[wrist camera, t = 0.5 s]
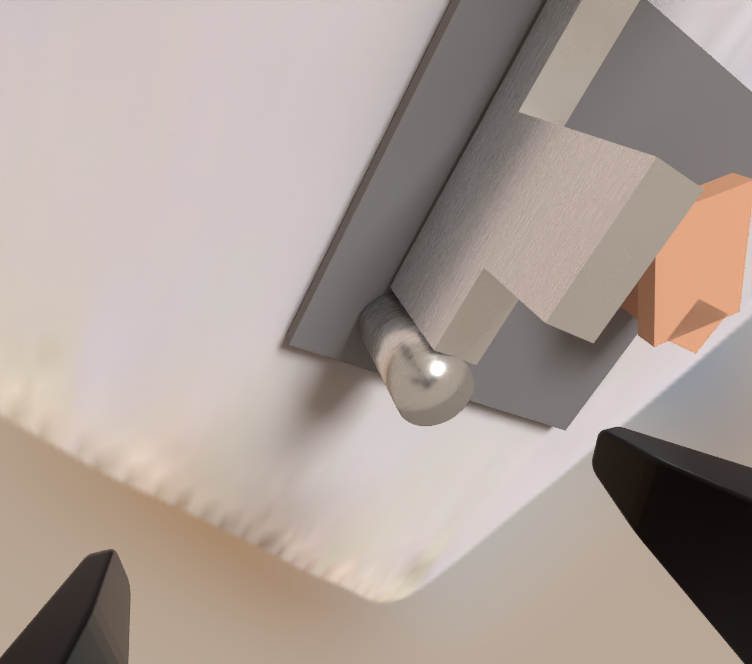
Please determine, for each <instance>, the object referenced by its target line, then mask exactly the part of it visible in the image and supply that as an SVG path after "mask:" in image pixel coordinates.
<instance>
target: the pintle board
mask: <svg viewBox="0 0 752 664" xmlns="http://www.w3.org/2000/svg"><path fill="white" fill-rule="evenodd" d="M546 2H547V0H451V2H450V4H449V6H448V8H447V10H446V12H445V14H444V16H443V18H442V20H441V22H440V24H439V26H438V28H437V30H436V32H435V34H434V36H433V38H432V40H431V42H430V44H429V46H428V49H427V51H426V53H425V55H424V57H423V59H422V61H421V63H420V65H419V67H418V69H417V71H416V73H415V75H414V77H413V79H412V81H411V83H410V85H409V87H408V89H407V91H406V93H405V95H404V97H403V99H402V101H401V103H400V105H399V107H398V109H397V111H396V113H395V116H394V118H393V120H392V122H391V124H390V126H389V128H388V130H387V132H386V134H385V136H384V138H383V140H382V142H381V144H380V146H379V148H378V150H377V152H376V154H375V156H374V158H373V160H372V162H371V164H370V166H369V168H368V170H367V172H366V174H365V176H364V178H363V180H362V183H361V185H360V187H359V189H358V191H357V193H356V195H355V197H354V199H353V201H352V203H351V205H350V207H349V209H348V211H347V213H346V215H345V217H344V219H343V221H342V223H341V225H340V227H339V229H338V231H337V233H336V235H335V237H334V239H333V241H332V243H331V245H330V247H329V249H328V252H327V254H326V256H325V258H324V260H323V262H322V264H321V266H320V268H319V270H318V272H317V274H316V276H315V278H314V280H313V282H312V284H311V286H310V288H309V290H308V292H307V294H306V296H305V298H304V300H303V302H302V304H301V306H300V308H299V310H298V312H297V314H296V316H295V319H294V321H293V323H292V325H291V327H290V329H289V331H288V333H287V335H286V336H287V340H288V344H289V345H290V346H294V347H297V348H300V349H303V350H307V351H310V352H313V353H316V354H320V355H323V356H326V357H329V358H333V359H336V360H339V361H342V362H345V363H349V364H352V365H355V366H358V367H362V368H365V369H368V370H371V371H375V372H378V373H379V371H378V369H377V367H376V365H375V363H374V361H373V359H372V357H371V355H370V353H369V351H368V349H367V347H366V345H365V343H364V341H363V339H362V337H361V334H360V329H359V328H360V320H361V317H362V314H363V312H364V311H365V309H366V308H367V307H368V305H369V304H370V303H371V302H373V301H374V300H375V299H377V298H378V297H380V296H382V295H385V294H388V293H394V292H393V291H392V289H391V288H390V286H391V284H392V283H393V281H394V279H395V277H396V275H397V273H398V272H399V270H400V268H401V266H402V264H403V262H404V261H405V259H406V257H407V255H408V253H409V252H410V250H411V248H412V246H413V244H414V242H415V241H416V239H417V237H418V235H419V233H420V231H421V230H422V228H423V226H424V224H425V222H426V221H427V219H428V217H429V215H430V213H431V211H432V210H433V208H434V206H435V204H436V202H437V200H438V199H439V197H440V195H441V193H442V191H443V190H444V188H445V186H446V184H447V182H448V180H449V179H450V177H451V175H452V173H453V171H454V169H455V168H456V166H457V164H458V162H459V160H460V159H461V157H462V155H463V153H464V151H465V149H466V148H467V146H468V144H469V142H470V140H471V138H472V137H473V135H474V133H475V131H476V129H477V128H478V126H479V124H480V122H481V120H482V118H483V117H484V115H485V113H486V111H487V109H488V107H489V106H490V104H491V102H492V100H493V98H494V97H495V95H496V93H497V91H498V89H499V87H500V86H501V84H502V82H503V80H504V78H505V76H506V75H507V73H508V71H509V69H510V67H511V66H512V64H513V62H514V60H515V58H516V56H517V55H518V53H519V51H520V49H521V47H522V45H523V44H524V42H525V40H526V38H527V36H528V35H529V33H530V31H531V29H532V27H533V25H534V24H535V22H536V20H537V18H538V16H539V14H540V13H541V11H542V9H543V7H544V5H545V4H546ZM564 127H567V128H570V129H573V130H576V131H579V132H582V133H585V134H588V135H591V136H594V137H597V138H600V139H604V140H607V141H610V142H613V143H616V144H619V145H622V146H625V147H628V148H631V149H634V150H637V151H640V152H643V153H647V154H650V155H653V156H656V157H658V158H659V159H661V160H662V161H664V162H665V163H667V164H668V165H670V166H671V167H672V168H674V169H675V170H677V171H678V172H680V173H681V174H683V175H684V176H685V177H687V178H688V179H690V180H691V181H693V182H694V183H696V184H697V185H698V186H700V187H701V188H703V189H704V190H703V192H702V193H701V195H700V196H699V197H698V199H697V200H696V201H695V203H694V204H693V206H692V207H691V208H690V210H689V211H688V213H687V214H686V215H685V217H684V218H683V220H682V221H681V222H680V224H679V225H678V227H677V228H676V229H675V231H674V232H673V234H672V235H671V236H670V238H669V239H668V240H667V242H666V243H665V245H664V246H663V247H662V249H661V250H660V252H659V253H658V254H657V256H656V257H655V259H654V260H653V261H652V263H651V264H650V266H649V267H648V268H647V270H646V271H645V272H644V274H643V275H642V277H641V278H640V279H639V281H638V282H637V284H636V285H635V286H634V288H633V289H632V291H631V292H630V293H629V295H628V296H627V298H626V299H625V300H624V302H623V303H622V305H621V306H620V307H619V309H618V310H617V311H616V313H615V314H614V316H613V317H612V318H611V320H610V321H609V323H608V324H607V325H606V327H605V328H604V330H603V331H602V332H601V334H600V335H599V337H598V338H597V339H596V341H595V342H594V343H591V342H589V341H587V340H584V339H582V338H580V337H577V336H575V335H572V334H570V333H568V332H565V331H563V330H561V329H558V328H556V327H553V326H551V325H549V324H546V323H545V322H544V321H542V320H541V319H540V318H539V317H538V316H537V315H536V314H535V313H534V312H532V311H531V310H530V309H529V308H528V307H527V306H526V305H525V304H524V303H523V302H521V301H520V300H518V301H517V303H516V305H515V306H514V308H513V309H512V311H511V312H510V314H509V315H508V317H507V318H506V320H505V322H504V323H503V325H502V326H501V328H500V329H499V331H498V332H497V334H496V336H495V337H494V339H493V340H492V342H491V343H490V345H489V346H488V348H487V350H486V351H485V353H484V354H483V356H482V357H481V359H480V360H479V362H478V364H477V365H475V364H472V363H469V362H466V361H464V362H465V363H466V365H467V366H468V367H469V368H470V370H471V372H472V374H473V377H474V390H473V393H472V396H471V398H470V400H469V401H472V402H475V403H478V404H482V405H485V406H488V407H491V408H495V409H498V410H501V411H504V412H508V413H511V414H514V415H517V416H521V417H524V418H527V419H530V420H533V421H537V422H540V423H543V424H546V425H550V426H553V427H556V428H559V429H563V430H566V429H567V428H568V426H569V425H570V424H571V422H572V421H573V420H574V418H575V417H576V416H577V414H578V413H579V411H580V410H581V409H582V407H583V406H584V405H585V403H586V402H587V401H588V399H589V398H590V397H591V395H592V394H593V393H594V391H595V390H596V389H597V387H598V386H599V385H600V383H601V382H602V381H603V379H604V378H605V377H606V375H607V374H608V373H609V371H610V370H611V369H612V367H613V366H614V365H615V363H616V362H617V360H618V359H619V358H620V356H621V355H622V354H623V352H624V351H625V350H626V348H627V347H628V346H629V344H630V343H631V342H632V340H633V339H634V338H635V336H636V335H637V334H638V335H639V336H640V337H641V338H643V339H644V340H645V341H647V342H648V343H649V344H651V345H652V346H653V347H655V346H658V345H660V344H663V343H665V342H667V341H670V342H672V343H674V344H677V345H679V346H681V347H683V348H685V349H687V350H689V351H692V352H694V353H697V351H698V350H699V349H700V348H701V346H702V345H703V344H704V343H705V341H706V340H707V339H708V338H709V336H710V335H711V334H712V333H713V331H714V330H715V329H716V328H717V326H718V325H719V324H720V323H721V321H722V320H723V319H724V318H726V317H728V316H731V315H733V314H735V313H738V312H739V311H740V302H741V294H742V285H743V277H744V268H745V260H746V251H747V243H748V234H749V226H750V217H751V209H752V92H751V91H750V90H749V89H748V88H747V87H745V86H744V85H743V84H742V83H741V82H740V81H739V80H737V79H736V78H735V77H734V76H733V75H732V74H731V73H729V72H728V71H727V70H726V69H725V68H724V67H723V66H721V65H720V64H719V63H718V62H717V61H716V60H715V59H714V58H712V57H711V56H710V55H709V54H708V53H707V52H706V51H704V50H703V49H702V48H701V47H700V46H699V45H698V44H696V43H695V42H694V41H693V40H692V39H691V38H690V37H688V36H687V35H686V34H685V33H684V32H683V31H682V30H681V29H679V28H678V27H677V26H676V25H675V24H674V23H673V22H671V21H670V20H669V19H668V18H667V17H666V16H665V15H663V14H662V13H661V12H660V11H659V10H658V9H657V8H655V7H654V6H653V5H652V4H651V3H650V2H649V1H647V0H640V1H639V3H638V4H637V6H636V8H635V9H634V11H633V13H632V14H631V16H630V18H629V19H628V21H627V23H626V24H625V26H624V28H623V29H622V31H621V33H620V34H619V36H618V38H617V39H616V41H615V43H614V44H613V46H612V47H611V49H610V51H609V52H608V54H607V56H606V57H605V59H604V61H603V62H602V64H601V66H600V67H599V69H598V71H597V72H596V74H595V76H594V77H593V79H592V81H591V82H590V84H589V86H588V87H587V89H586V91H585V92H584V94H583V96H582V97H581V99H580V101H579V102H578V104H577V106H576V107H575V109H574V111H573V112H572V114H571V116H570V117H569V119H568V121H567V122H566V124H565V126H564Z"/></svg>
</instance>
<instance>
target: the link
mask: <svg viewBox="0 0 752 664" xmlns="http://www.w3.org/2000/svg"><path fill="white" fill-rule="evenodd" d="M639 1H640V0H547V2H546V4H545V5H544V7H543V9H542V11H541V13H540V14H539V16H538V18H537V20H536V22H535V24H534V25H533V27H532V29H531V31H530V33H529V35H528V36H527V38H526V40H525V42H524V44H523V45H522V47H521V49H520V51H519V53H518V55H517V56H516V58H515V60H514V62H513V64H512V66H511V67H510V69H509V71H508V73H507V75H506V76H505V78H504V80H503V82H502V84H501V86H500V87H499V89H498V91H497V93H496V95H495V97H494V98H493V100H492V102H491V104H490V106H489V107H488V109H487V111H486V113H485V115H484V117H483V118H482V120H481V122H480V124H479V126H478V128H477V129H476V131H475V133H474V135H473V137H472V138H471V140H470V142H469V144H468V146H467V148H466V149H465V151H464V153H463V155H462V157H461V159H460V160H459V162H458V164H457V166H456V168H455V169H454V171H453V173H452V175H451V177H450V179H449V180H448V182H447V184H446V186H445V188H444V190H443V191H442V193H441V195H440V197H439V199H438V200H437V202H436V204H435V206H434V208H433V210H432V211H431V213H430V215H429V217H428V219H427V221H426V222H425V224H424V226H423V228H422V230H421V231H420V233H419V235H418V237H417V239H416V241H415V242H414V244H413V246H412V248H411V250H410V252H409V253H408V255H407V257H406V259H405V261H404V262H403V264H402V266H401V268H400V270H399V272H398V273H397V275H396V277H395V279H394V281H393V283H392V284H391V286H390V288H391V289H392V291H393V292H394V293H388V294H385V295H382V296H380V297H378V298H377V299H375V300H374V301H373V302H371V303H370V304H369V305H368V307H367V308H366V309H365V311H364V312H363V314H362V317H361V320H360V328H359V329H360V334H361V337H362V339H363V341H364V343H365V345H366V347H367V349H368V351H369V353H370V355H371V357H372V359H373V361H374V363H375V365H376V367H377V369H378V371H379V373H380V375H381V377H382V379H383V381H384V383H385V385H386V387H387V389H388V391H389V393H390V395H391V397H392V399H393V401H394V403H395V405H396V407H397V409H398V411H399V413H400V414H401V416H402V417H403V418H404V419H405V420H407V421H408V422H410V423H412V424H415V425H419V426H432V425H437V424H441V423H443V422H446V421H448V420H450V419H451V418H453V417H454V416H456V415H457V414H458V413H459V412H460V411H462V410H463V408H464V407H465V406H466V405H467V403H468V402H469V400H470V398H471V396H472V393H473V390H474V377H473V374H472V372H471V370H470V368H469V367H468V366H467V365H466V363H465V362H464V361H466V362H469V363H472V364H475V365H477V364H478V362H479V360H480V359H481V357H482V356H483V354H484V353H485V351H486V350H487V348H488V346H489V345H490V343H491V342H492V340H493V339H494V337H495V336H496V334H497V332H498V331H499V329H500V328H501V326H502V325H503V323H504V322H505V320H506V318H507V317H508V315H509V314H510V312H511V311H512V309H513V308H514V306H515V305H516V303H517V301H518V300H520V301H521V302H523V303H524V304H525V305H526V306H527V307H528V308H529V309H530V310H531V311H532V312H534V313H535V314H536V315H537V316H538V317H539V318H540V319H541V320H542V321H544V322H545V323H546V324H549V325H551V326H553V327H556V328H558V329H561V330H563V331H565V332H568V333H570V334H572V335H575V336H577V337H580V338H582V339H584V340H587V341H589V342H591V343H594V342H595V341H596V339H597V338H598V337H599V335H600V334H601V332H602V331H603V330H604V328H605V327H606V325H607V324H608V323H609V321H610V320H611V318H612V317H613V316H614V314H615V313H616V311H617V310H618V309H619V307H620V306H621V305H622V303H623V302H624V300H625V299H626V298H627V296H628V295H629V293H630V292H631V291H632V289H633V288H634V286H635V285H636V284H637V282H638V281H639V279H640V278H641V277H642V275H643V274H644V272H645V271H646V270H647V268H648V267H649V266H650V264H651V263H652V261H653V260H654V259H655V257H656V256H657V254H658V253H659V252H660V250H661V249H662V247H663V246H664V245H665V243H666V242H667V240H668V239H669V238H670V236H671V235H672V234H673V232H674V231H675V229H676V228H677V227H678V225H679V224H680V222H681V221H682V220H683V218H684V217H685V215H686V214H687V213H688V211H689V210H690V208H691V207H692V206H693V204H694V203H695V201H696V200H697V199H698V197H699V196H700V195H701V193H702V192H703V190H704V189H703V188H701V187H700V186H698V185H697V184H696V183H694V182H693V181H691V180H690V179H688V178H687V177H685V176H684V175H683V174H681V173H680V172H678V171H677V170H675V169H674V168H672V167H671V166H670V165H668V164H667V163H665V162H664V161H662V160H661V159H659V158H658V157H656V156H653V155H650V154H647V153H643V152H640V151H637V150H634V149H631V148H628V147H625V146H622V145H619V144H616V143H613V142H610V141H607V140H604V139H600V138H597V137H594V136H591V135H588V134H585V133H582V132H579V131H576V130H573V129H570V128H567V127H564V126H565V124H566V122H567V121H568V119H569V117H570V116H571V114H572V112H573V111H574V109H575V107H576V106H577V104H578V102H579V101H580V99H581V97H582V96H583V94H584V92H585V91H586V89H587V87H588V86H589V84H590V82H591V81H592V79H593V77H594V76H595V74H596V72H597V71H598V69H599V67H600V66H601V64H602V62H603V61H604V59H605V57H606V56H607V54H608V52H609V51H610V49H611V47H612V46H613V44H614V43H615V41H616V39H617V38H618V36H619V34H620V33H621V31H622V29H623V28H624V26H625V24H626V23H627V21H628V19H629V18H630V16H631V14H632V13H633V11H634V9H635V8H636V6H637V4H638V3H639Z"/></svg>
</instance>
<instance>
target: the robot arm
mask: <svg viewBox="0 0 752 664" xmlns="http://www.w3.org/2000/svg"><path fill="white" fill-rule="evenodd" d="M592 466H593V470H594V472H595V474H596V476H597V477H598V479H599V480H600V482H601V483H602V485H603V486H604V488H605V489H606V491H607V492H608V494H609V495H610V497H611V498H612V500H613V501H614V502H615V504H616V505H617V507H618V508H619V510H620V511H621V513H622V514H623V515H624V517H625V519H626V520H627V522H628V523H629V524H630V526H631V527H632V529H633V530H634V531H635V533H636V534H637V535H638V537H639V538H640V539H641V540H642V542H643V543H644V544H645V545H646V546H647V548H648V549H649V550H650V551H651V552H652V554H653V555H654V556H655V557H656V558H657V560H658V561H659V562H660V563H661V564H662V566H663V567H664V568H665V569H666V570H667V571H668V573H669V574H670V575H671V576H672V577H673V579H674V580H675V581H676V582H677V583H678V585H679V586H680V587H681V588H682V589H683V591H684V592H685V593H686V594H687V595H688V597H689V598H690V599H691V600H692V601H693V603H694V604H695V605H696V606H697V607H698V609H699V610H700V611H701V612H702V613H703V614H704V616H705V617H706V618H707V619H708V621H709V622H710V623H711V624H712V625H713V626H714V628H715V629H716V630H717V631H718V633H719V634H720V635H721V636H722V637H723V639H724V640H725V641H726V642H727V643H728V645H729V646H730V647H731V648H732V649H733V650H734V652H735V653H736V654H737V655H738V657H739V658H740V659H741V660H742V661H743V663H744V664H752V468H751V467H747V466H744V465H741V464H738V463H735V462H731V461H728V460H725V459H722V458H719V457H715V456H712V455H709V454H706V453H703V452H699V451H696V450H693V449H690V448H686V447H683V446H680V445H677V444H674V443H671V442H667V441H664V440H661V439H658V438H654V437H651V436H648V435H645V434H642V433H639V432H635V431H632V430H629V429H626V428H623V427H614V428H610V429H606V430H603V431H601V432H600V433H599V434H598V438H597V442H596V446H595V450H594V454H593V458H592ZM129 621H130V585H129V581H128V578H127V575H126V573H125V570H124V568H123V566H122V563H121V561H120V559H119V556H118V554H117V552H116V551H115V550H113V549H108V550H104V551H100V552H96V553H92V554H89V555H88V556H87V557H85V558H84V559H83V561H82V562H81V563H80V564H79V565H78V567H77V568H76V569H75V570H74V571H73V572H72V574H71V575H70V576H69V577H68V578H67V579H66V581H65V582H64V583H63V584H62V585H61V587H60V588H59V589H58V590H57V591H56V592H55V594H54V595H53V596H52V597H51V598H50V600H49V601H48V602H47V603H46V604H45V605H44V607H43V608H42V609H41V610H40V611H39V613H38V614H37V615H36V616H35V617H34V618H33V620H32V621H31V622H30V623H29V624H28V626H27V627H26V628H25V629H24V630H23V632H22V633H21V634H20V635H19V636H18V638H17V639H16V640H15V641H14V642H13V643H12V644H11V646H10V647H9V648H8V649H7V650H6V652H5V653H4V654H3V655H2V656H1V658H0V664H128V654H129V653H128V651H129Z"/></svg>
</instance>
